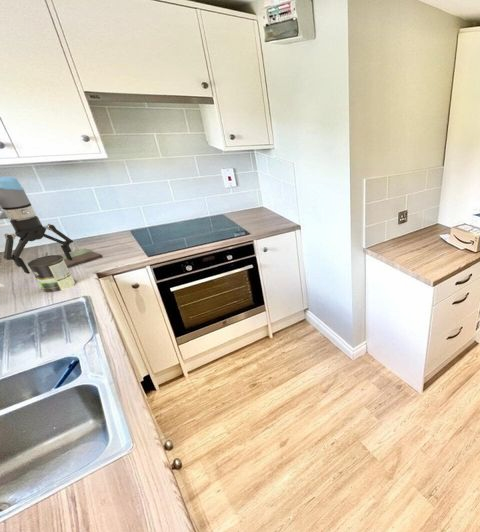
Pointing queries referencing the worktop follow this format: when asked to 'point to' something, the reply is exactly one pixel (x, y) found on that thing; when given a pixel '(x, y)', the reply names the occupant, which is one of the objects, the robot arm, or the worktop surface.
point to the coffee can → (51, 273)
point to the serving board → (81, 257)
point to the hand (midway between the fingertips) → (49, 266)
